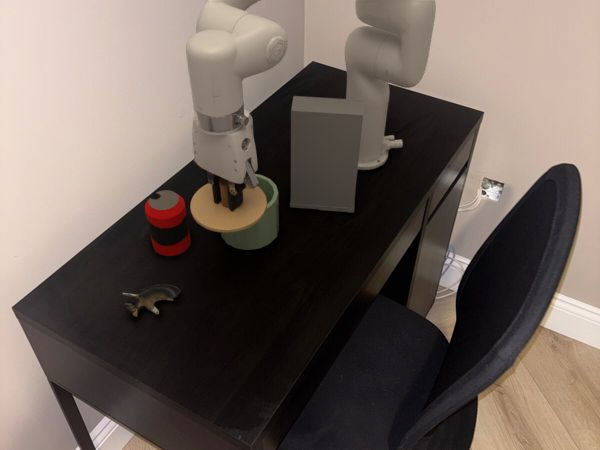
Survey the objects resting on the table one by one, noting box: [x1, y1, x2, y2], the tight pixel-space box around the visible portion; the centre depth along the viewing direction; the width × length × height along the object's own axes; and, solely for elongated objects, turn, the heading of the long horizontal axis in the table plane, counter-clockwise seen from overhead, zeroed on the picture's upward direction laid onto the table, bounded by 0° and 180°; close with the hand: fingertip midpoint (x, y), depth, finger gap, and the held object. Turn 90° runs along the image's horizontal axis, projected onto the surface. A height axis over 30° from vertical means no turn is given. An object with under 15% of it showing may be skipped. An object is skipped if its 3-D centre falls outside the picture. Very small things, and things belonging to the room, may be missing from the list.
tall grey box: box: [289, 95, 363, 213], centre depth 124 cm, size 14×6×25 cm, turn 85°
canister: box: [220, 173, 280, 251], centre depth 122 cm, size 12×12×10 cm
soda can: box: [144, 189, 192, 257], centre depth 119 cm, size 8×8×12 cm
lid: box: [189, 177, 267, 233], centre depth 103 cm, size 13×13×6 cm
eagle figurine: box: [122, 284, 182, 318], centre depth 109 cm, size 8×7×9 cm
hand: (228, 201), depth 105 cm, fingers closed on lid, 2 cm apart
